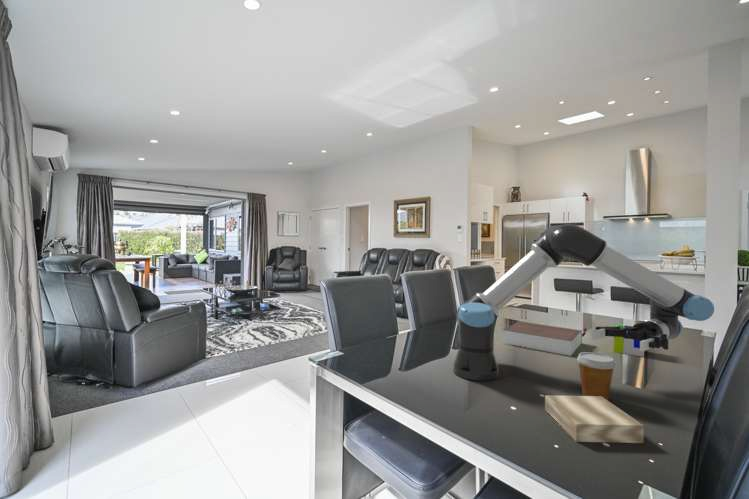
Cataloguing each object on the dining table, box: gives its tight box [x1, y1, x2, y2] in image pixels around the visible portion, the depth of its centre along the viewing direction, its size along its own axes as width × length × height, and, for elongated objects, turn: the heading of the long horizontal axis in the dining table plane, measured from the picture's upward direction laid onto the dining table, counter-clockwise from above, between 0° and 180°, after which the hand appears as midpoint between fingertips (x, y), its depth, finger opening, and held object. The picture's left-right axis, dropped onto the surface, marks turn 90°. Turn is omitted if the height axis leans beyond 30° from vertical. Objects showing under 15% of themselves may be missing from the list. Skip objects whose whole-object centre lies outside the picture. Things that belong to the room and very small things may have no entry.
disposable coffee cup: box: [576, 351, 617, 401], centre depth 102 cm, size 10×10×12 cm
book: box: [501, 320, 583, 357], centre depth 158 cm, size 24×28×7 cm
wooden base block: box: [544, 394, 645, 444], centre depth 86 cm, size 15×15×4 cm
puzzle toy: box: [613, 324, 645, 358], centre depth 147 cm, size 10×10×10 cm
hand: (615, 340), depth 106 cm, fingers open, 13 cm apart
